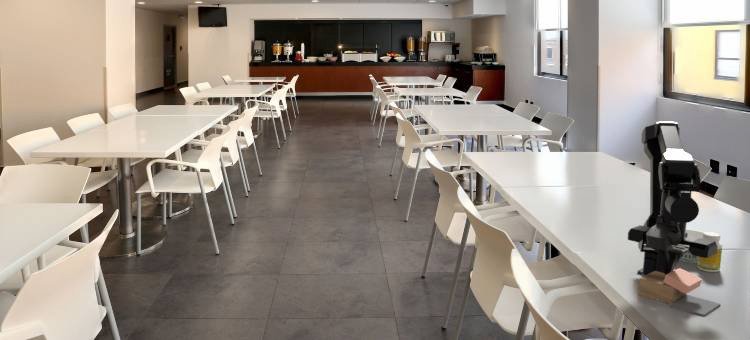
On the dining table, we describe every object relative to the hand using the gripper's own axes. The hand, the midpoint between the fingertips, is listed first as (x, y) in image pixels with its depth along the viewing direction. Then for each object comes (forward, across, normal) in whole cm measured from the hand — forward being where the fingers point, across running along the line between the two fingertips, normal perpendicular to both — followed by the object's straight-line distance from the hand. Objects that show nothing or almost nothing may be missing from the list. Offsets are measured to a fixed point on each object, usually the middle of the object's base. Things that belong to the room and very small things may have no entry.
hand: (667, 275), depth 153 cm
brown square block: (+5, -1, 0) cm, 5 cm away
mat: (+5, +7, -1) cm, 9 cm away
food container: (+5, -9, +33) cm, 35 cm away
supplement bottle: (+5, -1, +27) cm, 28 cm away
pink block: (+1, +3, 0) cm, 3 cm away
